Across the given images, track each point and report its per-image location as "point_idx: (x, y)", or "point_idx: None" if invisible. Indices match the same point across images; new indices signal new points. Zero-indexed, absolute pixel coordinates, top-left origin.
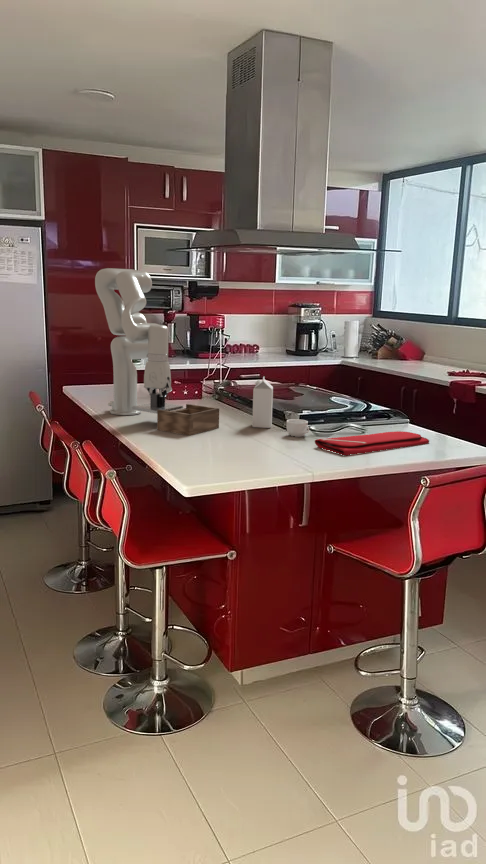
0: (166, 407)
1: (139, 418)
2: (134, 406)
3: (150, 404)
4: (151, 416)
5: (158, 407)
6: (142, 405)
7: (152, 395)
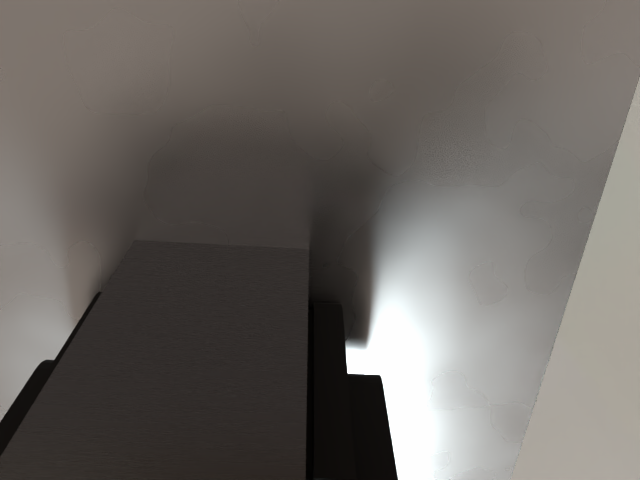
0: (9, 359)
1: (622, 331)
2: (634, 21)
3: (305, 271)
4: (554, 464)
5: (111, 270)
6: (525, 247)
7: (211, 445)
